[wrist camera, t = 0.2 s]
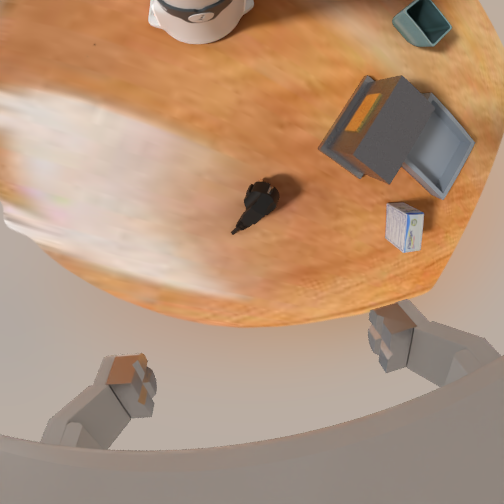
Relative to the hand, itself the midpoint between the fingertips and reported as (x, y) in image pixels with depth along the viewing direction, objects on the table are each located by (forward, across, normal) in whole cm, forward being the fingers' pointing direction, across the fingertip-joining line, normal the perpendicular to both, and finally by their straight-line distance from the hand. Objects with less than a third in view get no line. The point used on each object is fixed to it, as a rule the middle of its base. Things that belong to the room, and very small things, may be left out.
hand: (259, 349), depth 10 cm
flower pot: (+49, -41, -26) cm, 69 cm away
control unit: (+48, -26, -4) cm, 55 cm away
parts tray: (+48, -42, +1) cm, 64 cm away
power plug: (+50, 0, +12) cm, 52 cm away
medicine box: (+48, -32, +16) cm, 60 cm away
